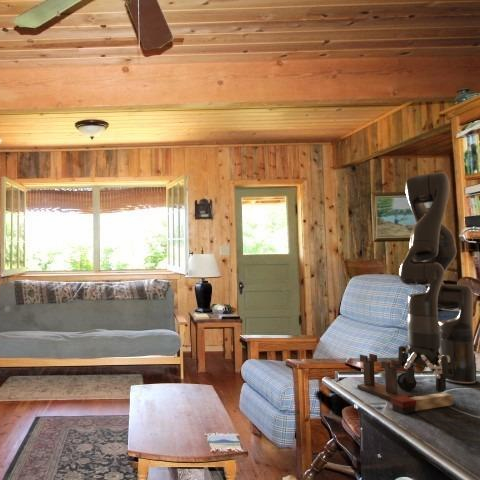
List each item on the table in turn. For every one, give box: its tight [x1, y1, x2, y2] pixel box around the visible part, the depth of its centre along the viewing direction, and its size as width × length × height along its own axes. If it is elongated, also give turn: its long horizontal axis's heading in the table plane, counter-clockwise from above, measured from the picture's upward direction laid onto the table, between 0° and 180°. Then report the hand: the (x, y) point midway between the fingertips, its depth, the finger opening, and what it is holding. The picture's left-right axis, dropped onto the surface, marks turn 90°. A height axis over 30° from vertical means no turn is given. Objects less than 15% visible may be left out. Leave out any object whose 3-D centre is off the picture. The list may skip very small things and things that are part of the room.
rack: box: [356, 353, 415, 402], centre depth 130 cm, size 13×8×11 cm, turn 16°
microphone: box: [380, 371, 418, 392], centre depth 139 cm, size 6×6×20 cm
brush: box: [390, 391, 454, 415], centre depth 117 cm, size 20×4×3 cm, turn 106°
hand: (425, 386), depth 118 cm, fingers open, 8 cm apart
